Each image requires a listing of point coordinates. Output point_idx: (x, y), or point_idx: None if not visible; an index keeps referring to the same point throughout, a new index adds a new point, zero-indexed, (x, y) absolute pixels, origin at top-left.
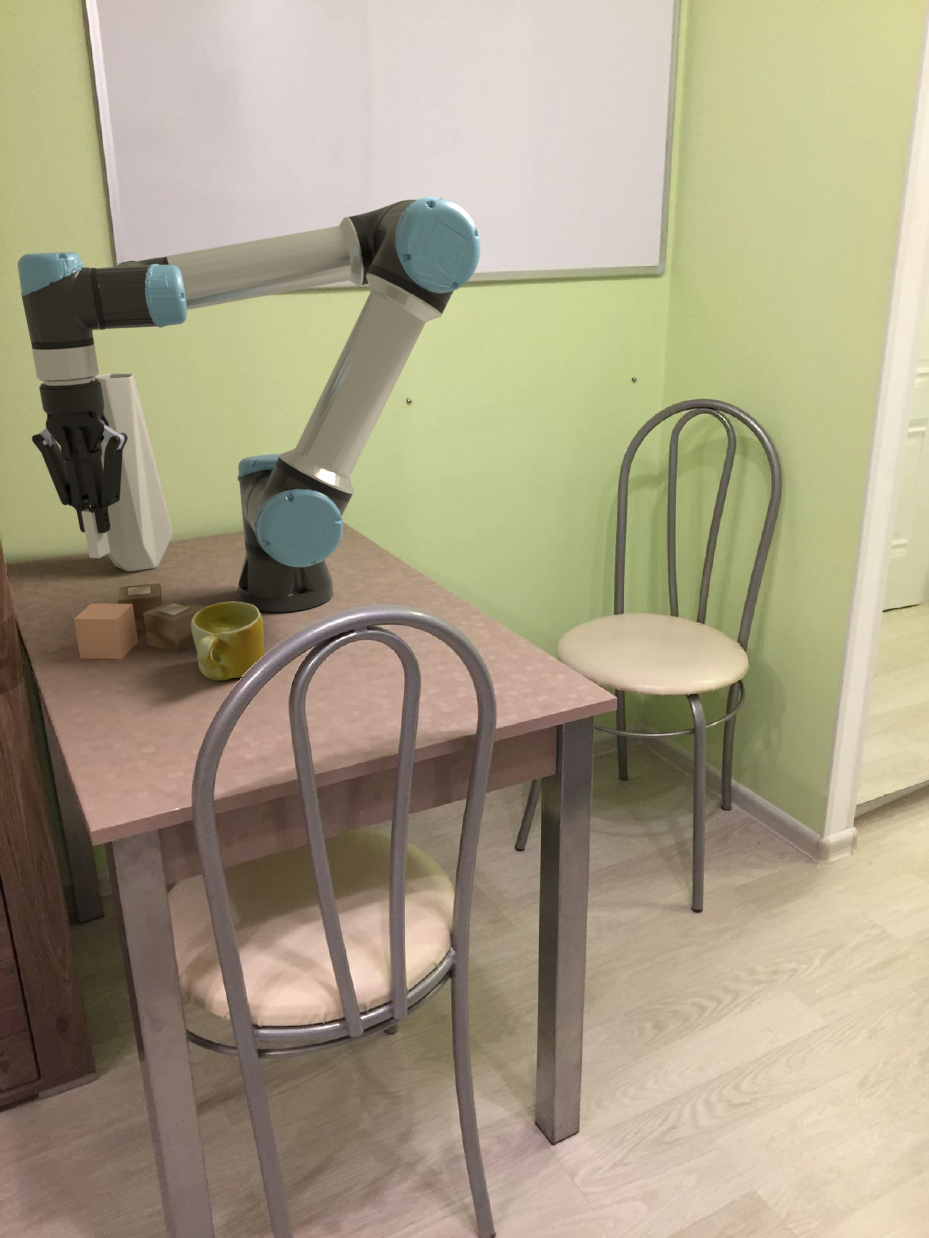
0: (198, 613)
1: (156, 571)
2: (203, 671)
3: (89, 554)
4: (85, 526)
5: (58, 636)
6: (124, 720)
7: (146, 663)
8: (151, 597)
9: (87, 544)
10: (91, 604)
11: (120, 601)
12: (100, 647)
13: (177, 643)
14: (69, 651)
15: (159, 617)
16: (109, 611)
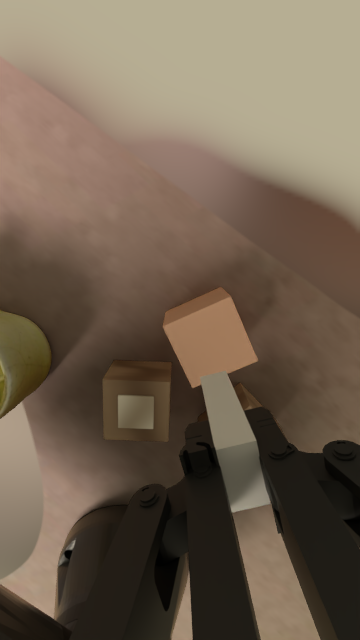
0: (1, 368)
1: None
2: (17, 316)
3: (226, 374)
4: (237, 411)
5: (309, 329)
6: (6, 161)
7: (124, 314)
8: None
9: (230, 384)
10: (254, 357)
11: (246, 406)
12: (193, 302)
13: (111, 365)
14: (253, 297)
15: (134, 380)
16: (201, 347)
